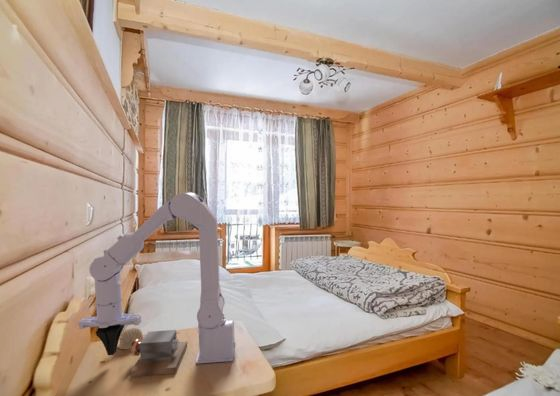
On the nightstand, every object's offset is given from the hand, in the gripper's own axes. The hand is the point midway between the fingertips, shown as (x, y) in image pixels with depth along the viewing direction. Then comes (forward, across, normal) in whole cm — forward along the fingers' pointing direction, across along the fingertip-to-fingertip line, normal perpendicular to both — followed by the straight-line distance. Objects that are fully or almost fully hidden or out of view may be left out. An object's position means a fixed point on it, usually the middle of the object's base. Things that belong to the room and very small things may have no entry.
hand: (112, 353), depth 77 cm
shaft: (+1, +11, 0) cm, 11 cm away
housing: (+3, +12, 0) cm, 13 cm away
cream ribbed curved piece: (+3, +1, +9) cm, 9 cm away
